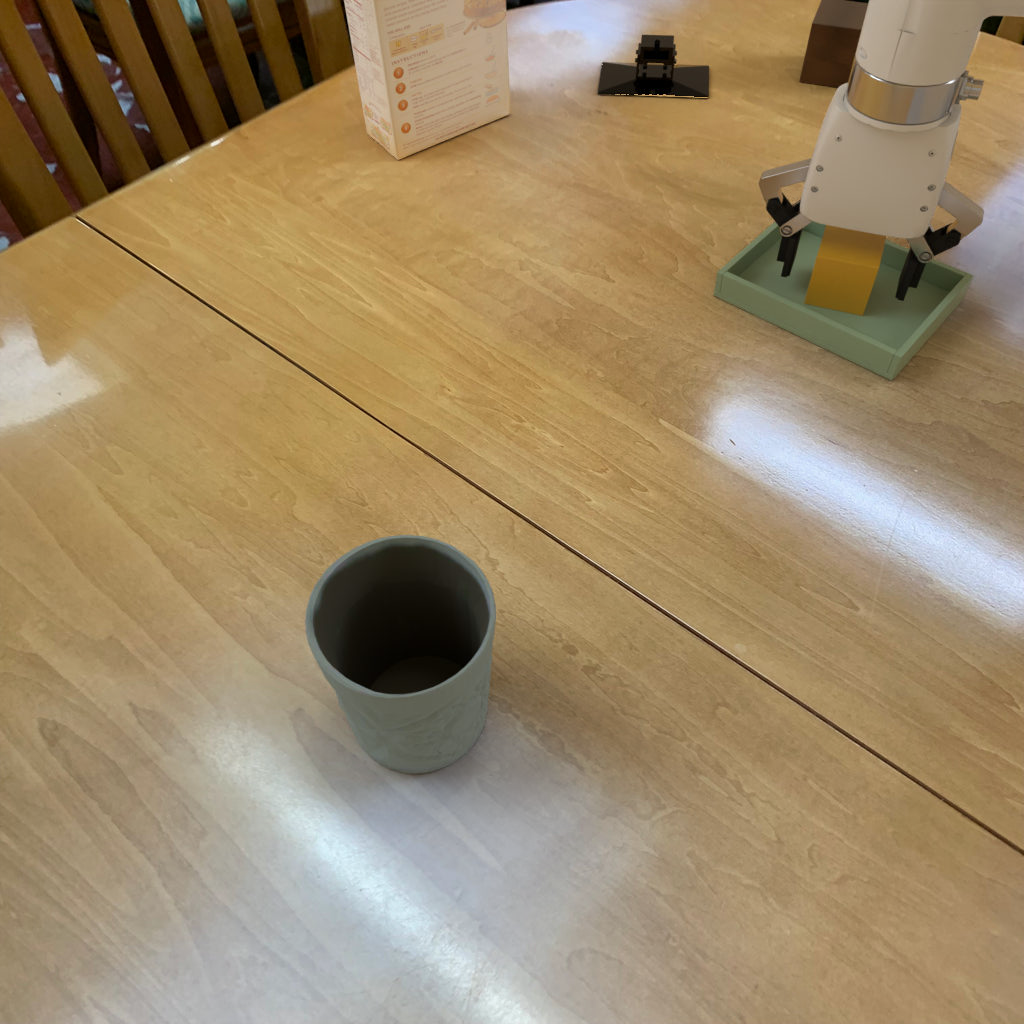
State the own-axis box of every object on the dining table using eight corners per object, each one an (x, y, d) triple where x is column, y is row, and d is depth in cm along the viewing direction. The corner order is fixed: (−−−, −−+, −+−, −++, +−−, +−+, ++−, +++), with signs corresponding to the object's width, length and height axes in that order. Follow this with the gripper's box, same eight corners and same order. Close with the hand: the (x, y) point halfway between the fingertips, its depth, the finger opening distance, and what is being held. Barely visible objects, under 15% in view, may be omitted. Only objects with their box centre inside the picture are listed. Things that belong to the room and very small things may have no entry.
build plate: (597, 96, 104) (598, 54, 101) (602, 64, 109) (603, 24, 105) (708, 99, 103) (714, 57, 99) (708, 67, 107) (714, 25, 104)
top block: (871, 281, 82) (887, 232, 78) (862, 316, 79) (879, 268, 75) (814, 269, 83) (827, 221, 79) (803, 303, 80) (816, 255, 76)
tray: (963, 299, 81) (974, 275, 79) (891, 381, 75) (901, 357, 73) (790, 226, 88) (796, 202, 86) (712, 295, 82) (717, 271, 80)
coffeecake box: (477, 90, 106) (464, -104, 91) (513, 115, 102) (506, -83, 87) (363, 134, 101) (330, -64, 85) (397, 162, 97) (368, -39, 82)
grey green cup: (347, 646, 61) (310, 539, 52) (499, 634, 62) (490, 526, 52) (340, 795, 55) (297, 704, 46) (509, 781, 55) (501, 688, 46)
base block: (866, 63, 107) (882, 4, 102) (857, 91, 103) (874, 31, 98) (809, 55, 108) (822, -3, 103) (799, 82, 105) (811, 23, 100)
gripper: (1033, 78, 67) (952, 273, 80) (791, 45, 71) (753, 235, 84) (1028, 132, 62) (943, 328, 76) (771, 93, 67) (734, 285, 80)
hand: (843, 279), depth 80 cm, fingers open, 9 cm apart
